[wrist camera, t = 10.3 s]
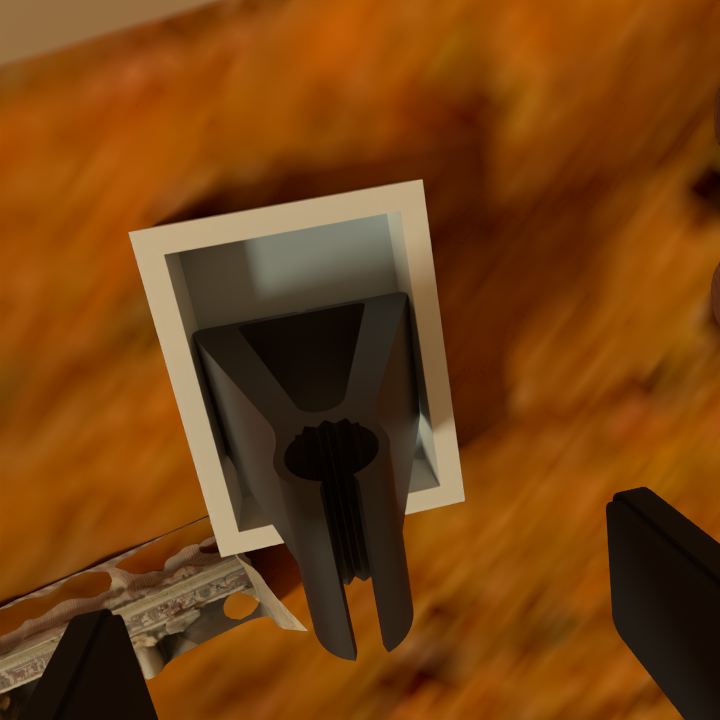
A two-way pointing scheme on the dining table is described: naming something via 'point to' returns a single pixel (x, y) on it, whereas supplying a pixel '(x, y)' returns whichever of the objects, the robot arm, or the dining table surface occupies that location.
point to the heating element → (141, 615)
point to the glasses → (719, 279)
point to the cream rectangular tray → (296, 294)
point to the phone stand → (326, 446)
